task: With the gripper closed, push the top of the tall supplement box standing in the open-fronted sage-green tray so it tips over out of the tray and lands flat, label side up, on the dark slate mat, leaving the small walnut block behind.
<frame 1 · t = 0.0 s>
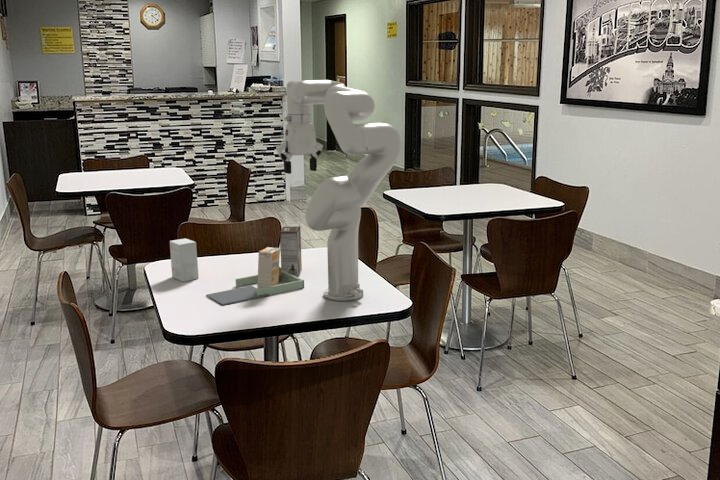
hand: (300, 171, 236), 37 cm above the table, tool pointing down, fingers open, 9 cm apart
coffee box: (291, 274, 251), on the table
tray: (269, 286, 236), on the table
small box: (185, 278, 247), on the table
supplement box: (268, 289, 232), on the table, touching mat
walnut block: (273, 281, 241), resting in tray
mat: (237, 296, 226), on the table
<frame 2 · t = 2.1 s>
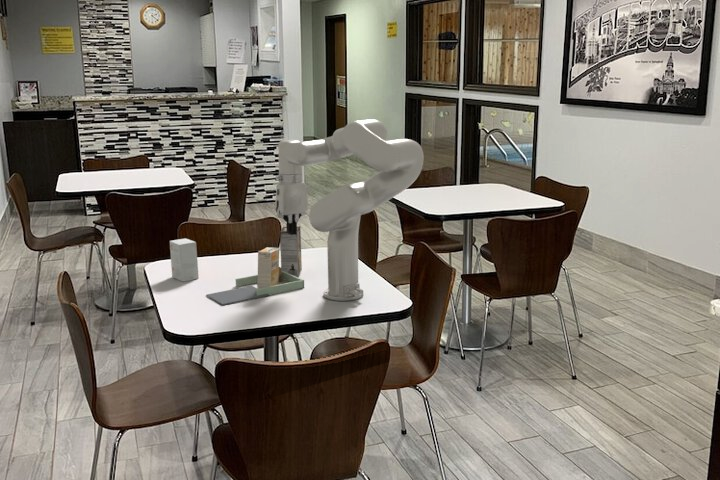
hand: (291, 233, 234), 17 cm above the table, tool pointing down, fingers closed
nothing on the table moved.
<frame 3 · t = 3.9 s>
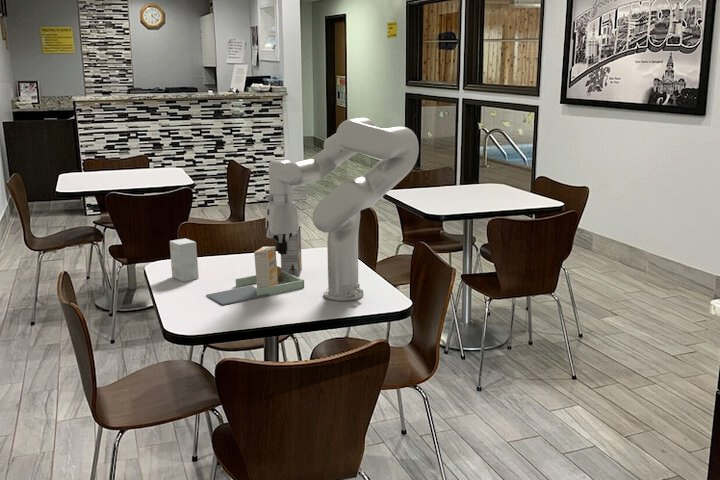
hand: (282, 253, 234), 11 cm above the table, tool pointing down, fingers closed
supplement box: (268, 288, 232), on the table, touching mat
everything else where it was.
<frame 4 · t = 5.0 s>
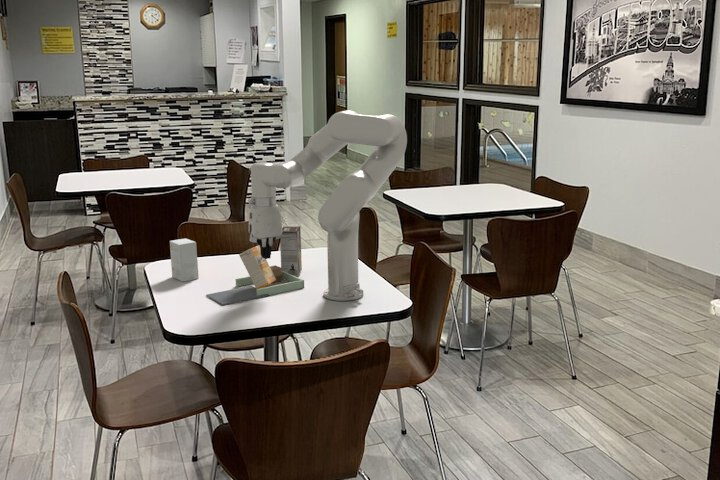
hand: (266, 257, 230), 11 cm above the table, tool pointing down, fingers closed
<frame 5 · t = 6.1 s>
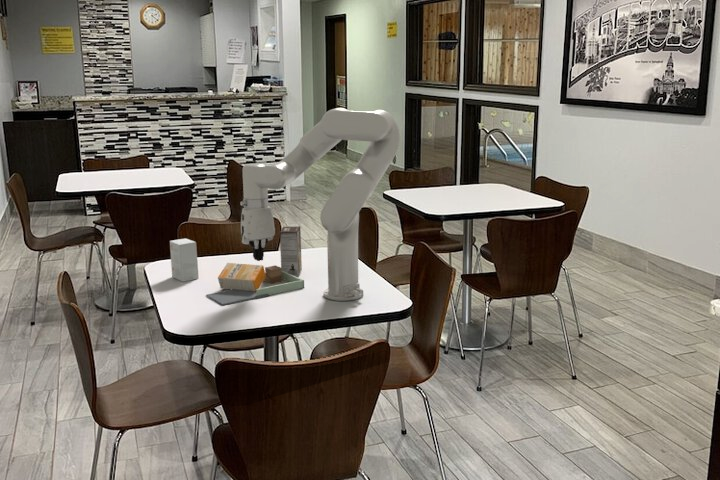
hand: (258, 259, 228), 11 cm above the table, tool pointing down, fingers closed
supplement box: (261, 278, 231), point 4 cm above the table, touching mat, tray
everything else where it was.
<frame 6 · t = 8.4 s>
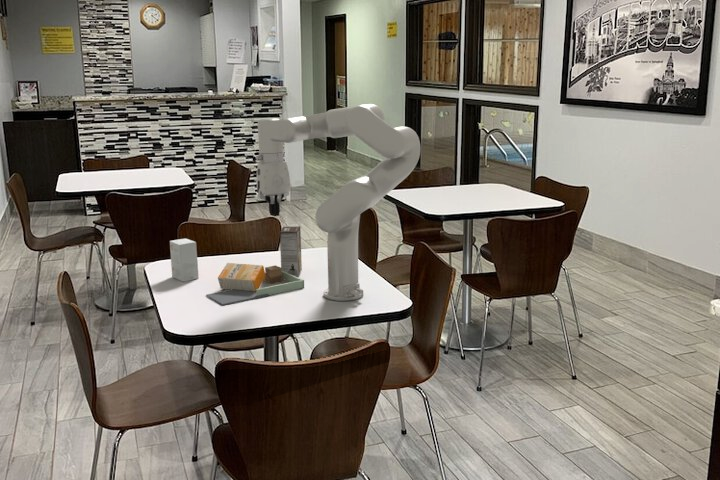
hand: (274, 215, 228), 24 cm above the table, tool pointing down, fingers closed
nothing on the table moved.
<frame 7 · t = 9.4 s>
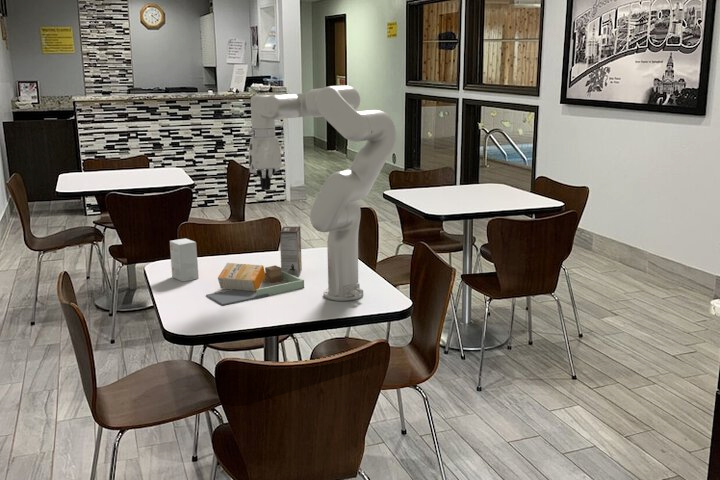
hand: (265, 189, 237), 31 cm above the table, tool pointing down, fingers closed
nothing on the table moved.
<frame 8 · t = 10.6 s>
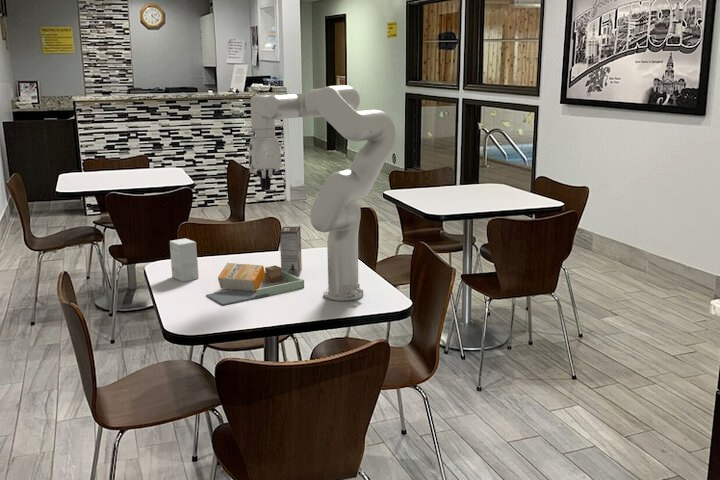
hand: (265, 189, 237), 31 cm above the table, tool pointing down, fingers closed
nothing on the table moved.
at the end: supplement box tilted 90°; supplement box inside the target area on the mat (5.4 cm from its centre), point 4.1 cm above the mat's base; the gripper is holding nothing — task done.
